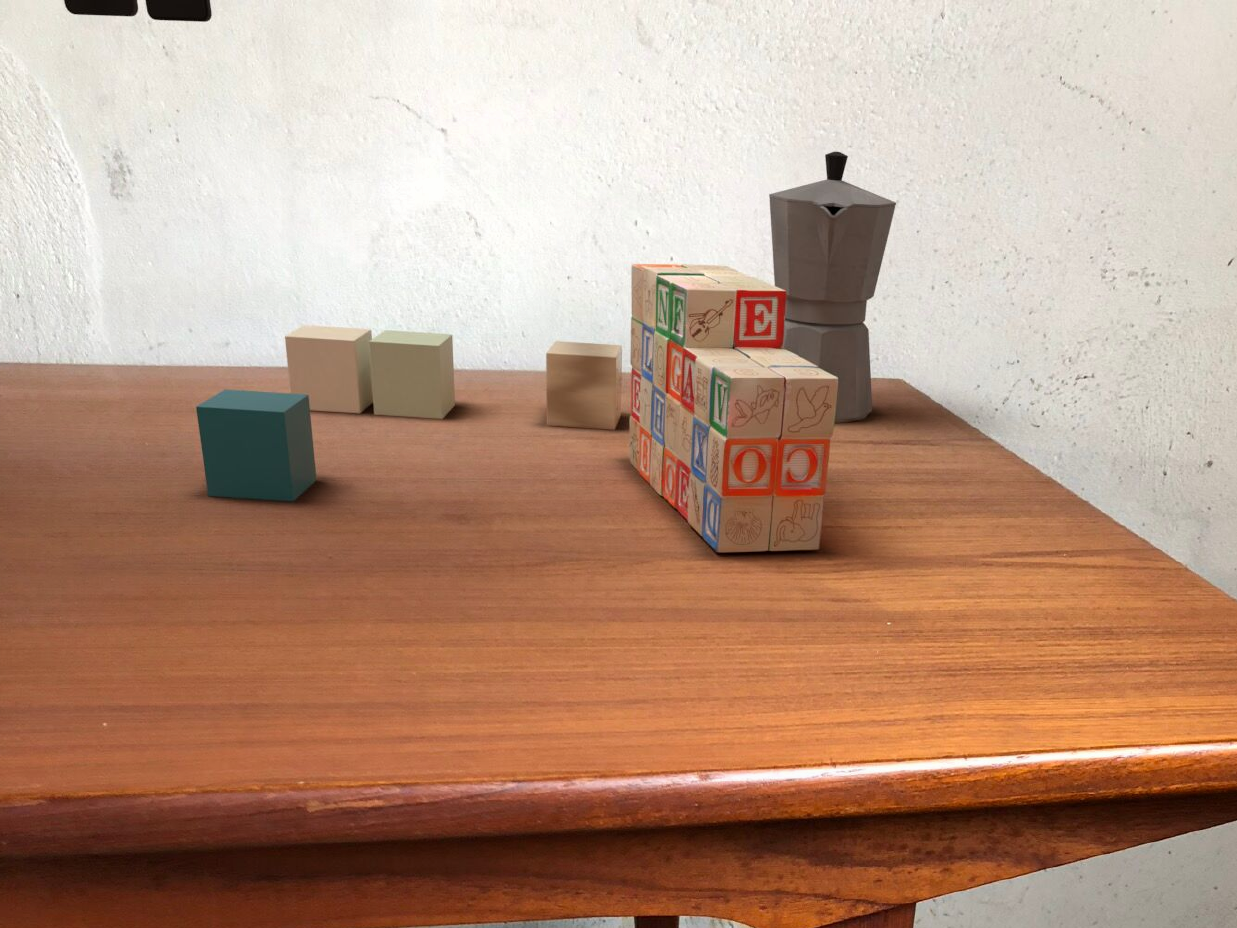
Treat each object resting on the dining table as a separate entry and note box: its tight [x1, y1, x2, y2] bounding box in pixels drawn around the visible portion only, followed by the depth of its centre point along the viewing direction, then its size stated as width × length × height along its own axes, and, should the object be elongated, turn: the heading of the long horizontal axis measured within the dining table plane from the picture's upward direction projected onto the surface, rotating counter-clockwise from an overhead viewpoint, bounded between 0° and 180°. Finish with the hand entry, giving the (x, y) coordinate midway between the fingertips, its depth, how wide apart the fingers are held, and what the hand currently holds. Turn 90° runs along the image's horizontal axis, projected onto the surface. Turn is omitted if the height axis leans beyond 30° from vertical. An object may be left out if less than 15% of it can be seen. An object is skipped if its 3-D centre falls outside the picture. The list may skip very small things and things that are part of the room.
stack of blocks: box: [629, 263, 838, 553], centre depth 82 cm, size 21×6×12 cm, turn 16°
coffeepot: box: [768, 151, 897, 424], centre depth 107 cm, size 15×9×18 cm, turn 177°
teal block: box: [195, 388, 317, 503], centre depth 82 cm, size 5×5×5 cm
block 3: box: [545, 340, 623, 431], centre depth 102 cm, size 5×5×5 cm
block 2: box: [369, 329, 456, 420], centre depth 102 cm, size 5×5×5 cm
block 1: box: [284, 324, 373, 415], centre depth 102 cm, size 5×5×5 cm
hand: (144, 18), depth 68 cm, fingers open, 9 cm apart
